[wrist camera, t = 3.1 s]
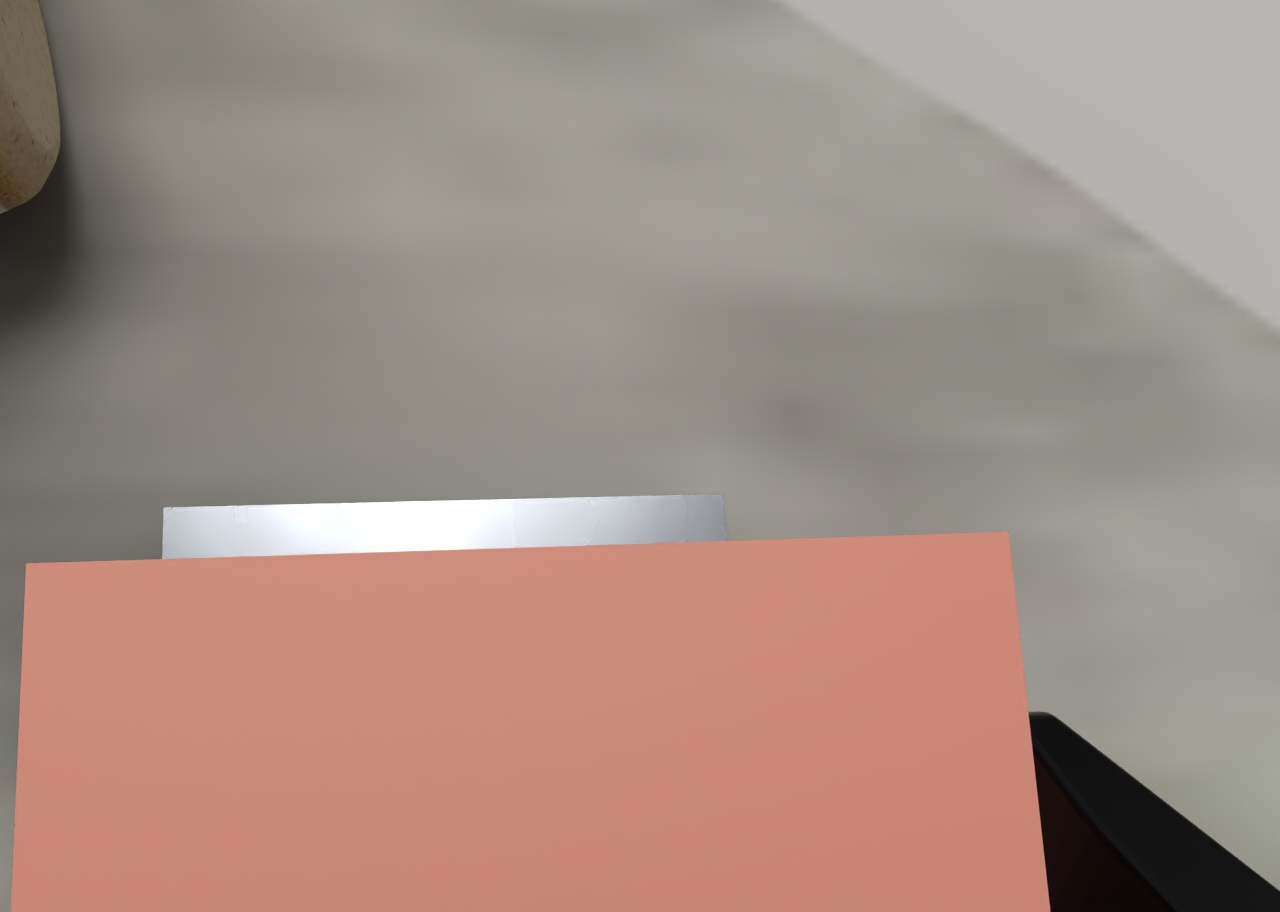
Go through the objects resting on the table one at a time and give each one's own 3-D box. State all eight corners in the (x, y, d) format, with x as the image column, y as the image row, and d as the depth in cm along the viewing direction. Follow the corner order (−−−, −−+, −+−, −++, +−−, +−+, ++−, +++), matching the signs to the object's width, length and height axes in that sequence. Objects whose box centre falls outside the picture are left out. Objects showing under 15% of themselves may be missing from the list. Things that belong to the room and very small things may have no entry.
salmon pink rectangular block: (620, 931, 16) (1152, 1607, 4) (307, 961, 15) (-70, 1890, 4) (606, 626, 17) (1024, 507, 5) (307, 640, 16) (-2, 536, 4)
